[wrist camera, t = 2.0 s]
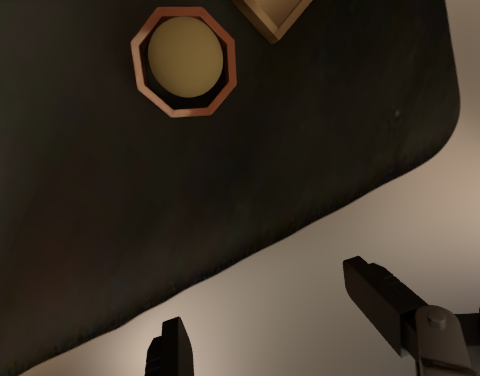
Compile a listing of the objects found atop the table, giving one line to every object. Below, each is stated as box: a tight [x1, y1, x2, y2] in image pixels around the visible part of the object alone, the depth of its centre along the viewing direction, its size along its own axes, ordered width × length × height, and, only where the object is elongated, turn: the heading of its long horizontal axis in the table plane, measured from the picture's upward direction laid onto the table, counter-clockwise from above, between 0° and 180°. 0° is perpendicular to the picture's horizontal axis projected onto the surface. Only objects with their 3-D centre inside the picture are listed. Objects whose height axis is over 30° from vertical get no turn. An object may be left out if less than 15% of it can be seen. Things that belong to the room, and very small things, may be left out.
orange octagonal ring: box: [130, 7, 237, 118], centre depth 30 cm, size 10×10×3 cm
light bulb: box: [148, 16, 223, 97], centre depth 26 cm, size 6×6×10 cm
